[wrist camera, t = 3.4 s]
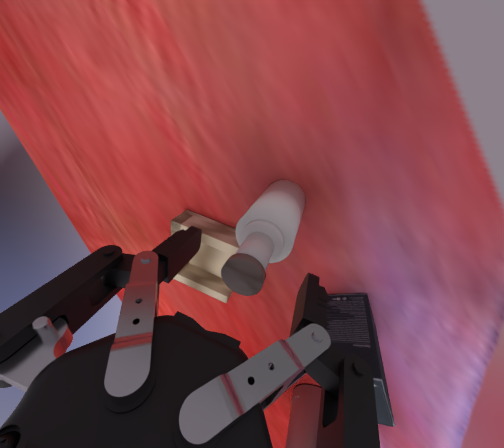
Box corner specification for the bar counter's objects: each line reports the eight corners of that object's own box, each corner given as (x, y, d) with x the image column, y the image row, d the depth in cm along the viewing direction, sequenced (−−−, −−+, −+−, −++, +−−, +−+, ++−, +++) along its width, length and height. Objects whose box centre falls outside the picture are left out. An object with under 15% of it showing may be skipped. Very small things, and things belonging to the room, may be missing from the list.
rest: (249, 234, 29) (239, 248, 26) (235, 286, 34) (226, 303, 31) (187, 209, 30) (171, 220, 27) (183, 263, 36) (170, 277, 33)
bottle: (312, 188, 23) (291, 266, 11) (297, 224, 26) (267, 318, 14) (270, 174, 24) (210, 233, 12) (259, 211, 26) (202, 288, 15)
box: (322, 294, 29) (318, 372, 20) (367, 292, 27) (384, 380, 18) (335, 332, 32) (336, 417, 23) (377, 334, 29) (397, 429, 20)
